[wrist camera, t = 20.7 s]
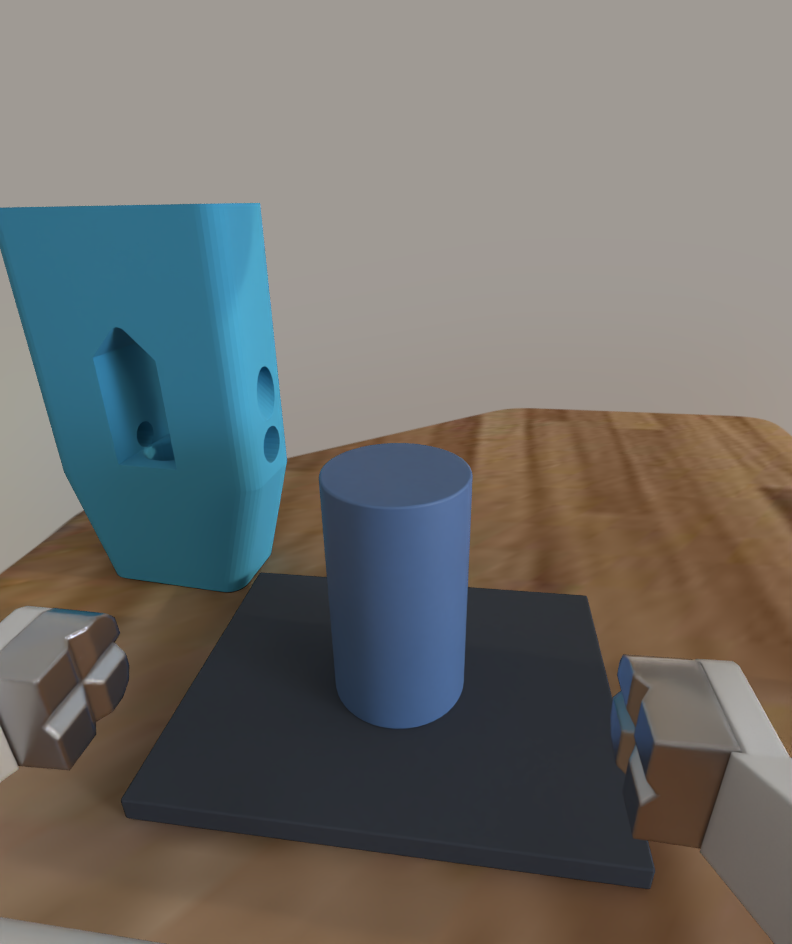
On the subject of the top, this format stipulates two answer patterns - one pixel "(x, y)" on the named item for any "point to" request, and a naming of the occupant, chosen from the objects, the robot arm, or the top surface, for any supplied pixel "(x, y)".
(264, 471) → the block
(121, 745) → the top surface
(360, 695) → the cylinder block
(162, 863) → the top surface
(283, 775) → the mat
